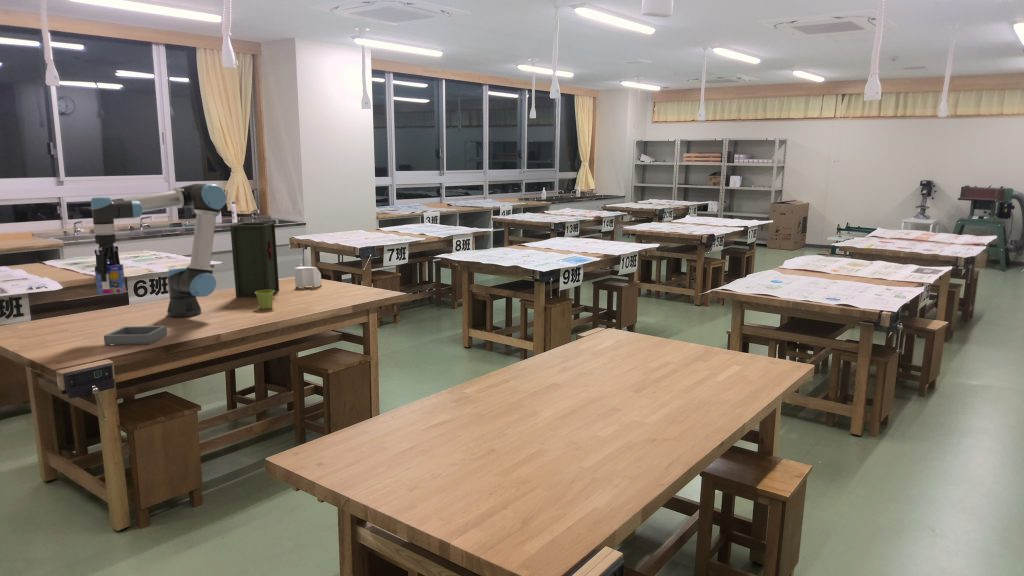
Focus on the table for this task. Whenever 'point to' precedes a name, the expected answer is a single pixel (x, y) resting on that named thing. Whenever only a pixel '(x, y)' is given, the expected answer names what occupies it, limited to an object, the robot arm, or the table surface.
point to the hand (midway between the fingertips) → (110, 287)
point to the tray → (135, 335)
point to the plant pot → (265, 298)
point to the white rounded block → (307, 276)
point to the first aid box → (254, 258)
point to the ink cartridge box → (112, 279)
